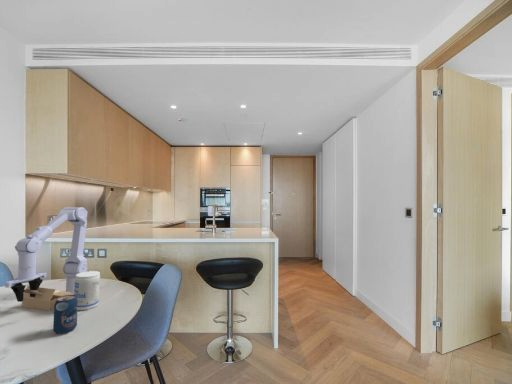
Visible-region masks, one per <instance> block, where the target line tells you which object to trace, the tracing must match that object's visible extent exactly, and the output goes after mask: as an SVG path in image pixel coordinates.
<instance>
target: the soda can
mask: <svg viewBox="0 0 512 384" xmlns="http://www.w3.org/2000/svg"><path fill="white" fill-rule="evenodd" d="M77 306H78V300H77V298H76V295H65V296H61V297H59V298H57V301H56V302H55V304H54V309H53V326H52V327H53V328H52V330H53V332H54V333H55V335H58V336H60V335H61V336H62V335H67V334H69V333H72V332H73V331H75V329H76V328H77V326H78V310H77Z"/></svg>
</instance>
